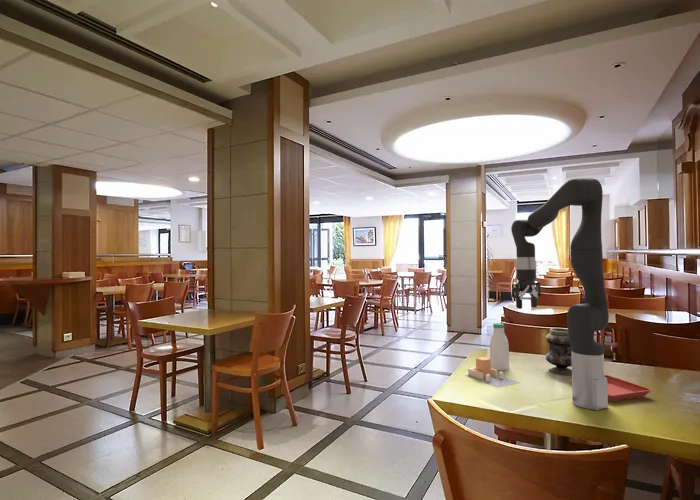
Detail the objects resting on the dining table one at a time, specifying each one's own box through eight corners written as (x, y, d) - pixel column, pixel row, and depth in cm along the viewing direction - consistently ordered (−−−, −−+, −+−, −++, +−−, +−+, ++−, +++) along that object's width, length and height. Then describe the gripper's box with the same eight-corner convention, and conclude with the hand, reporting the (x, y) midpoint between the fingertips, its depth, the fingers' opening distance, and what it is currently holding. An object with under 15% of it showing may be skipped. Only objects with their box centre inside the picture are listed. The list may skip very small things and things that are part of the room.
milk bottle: (512, 372, 168) (511, 325, 168) (493, 372, 168) (492, 325, 169) (505, 367, 176) (504, 322, 176) (487, 367, 176) (486, 322, 176)
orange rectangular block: (490, 376, 159) (490, 359, 159) (483, 378, 158) (483, 360, 158) (483, 373, 163) (483, 356, 163) (476, 375, 161) (475, 358, 161)
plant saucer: (611, 405, 131) (611, 395, 131) (568, 387, 149) (568, 378, 149) (653, 399, 136) (652, 389, 136) (606, 383, 154) (606, 374, 154)
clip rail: (520, 385, 151) (520, 375, 152) (497, 390, 146) (497, 380, 146) (486, 373, 167) (486, 365, 167) (465, 377, 161) (464, 369, 161)
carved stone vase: (584, 376, 161) (583, 332, 162) (554, 376, 162) (553, 332, 162) (568, 368, 173) (567, 326, 174) (540, 368, 174) (539, 327, 174)
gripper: (521, 268, 156) (522, 310, 155) (545, 268, 162) (546, 307, 162) (506, 268, 162) (506, 308, 162) (530, 267, 169) (531, 305, 168)
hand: (526, 307), depth 162 cm, fingers open, 8 cm apart
